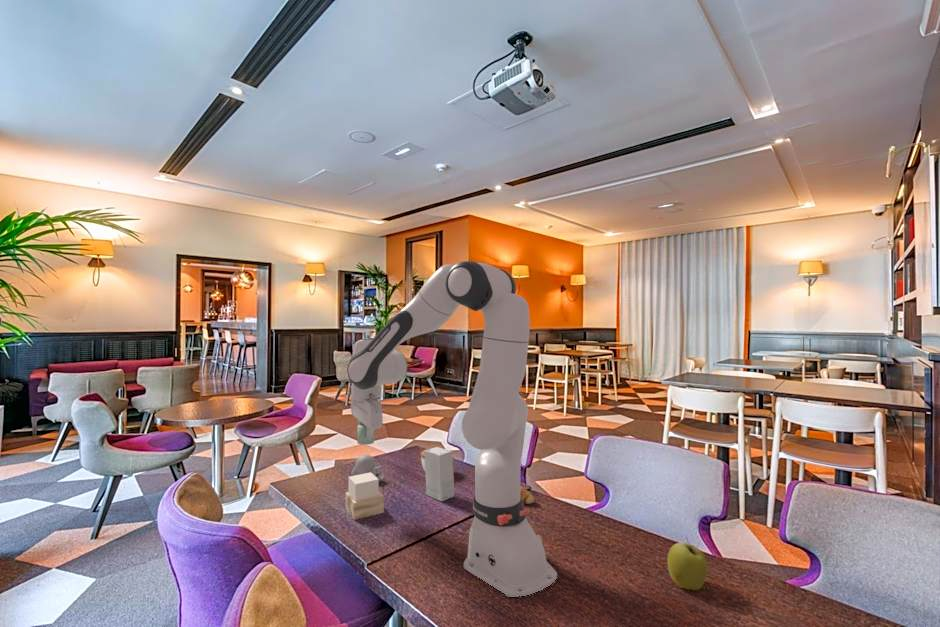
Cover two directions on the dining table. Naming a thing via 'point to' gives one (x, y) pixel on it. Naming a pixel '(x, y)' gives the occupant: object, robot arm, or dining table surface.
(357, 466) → the round bodied animal figurine
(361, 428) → the sage green capsule
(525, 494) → the croissant
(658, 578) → the dining table surface
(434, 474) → the skincare box
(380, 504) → the tower base
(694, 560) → the apple
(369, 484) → the tower top
